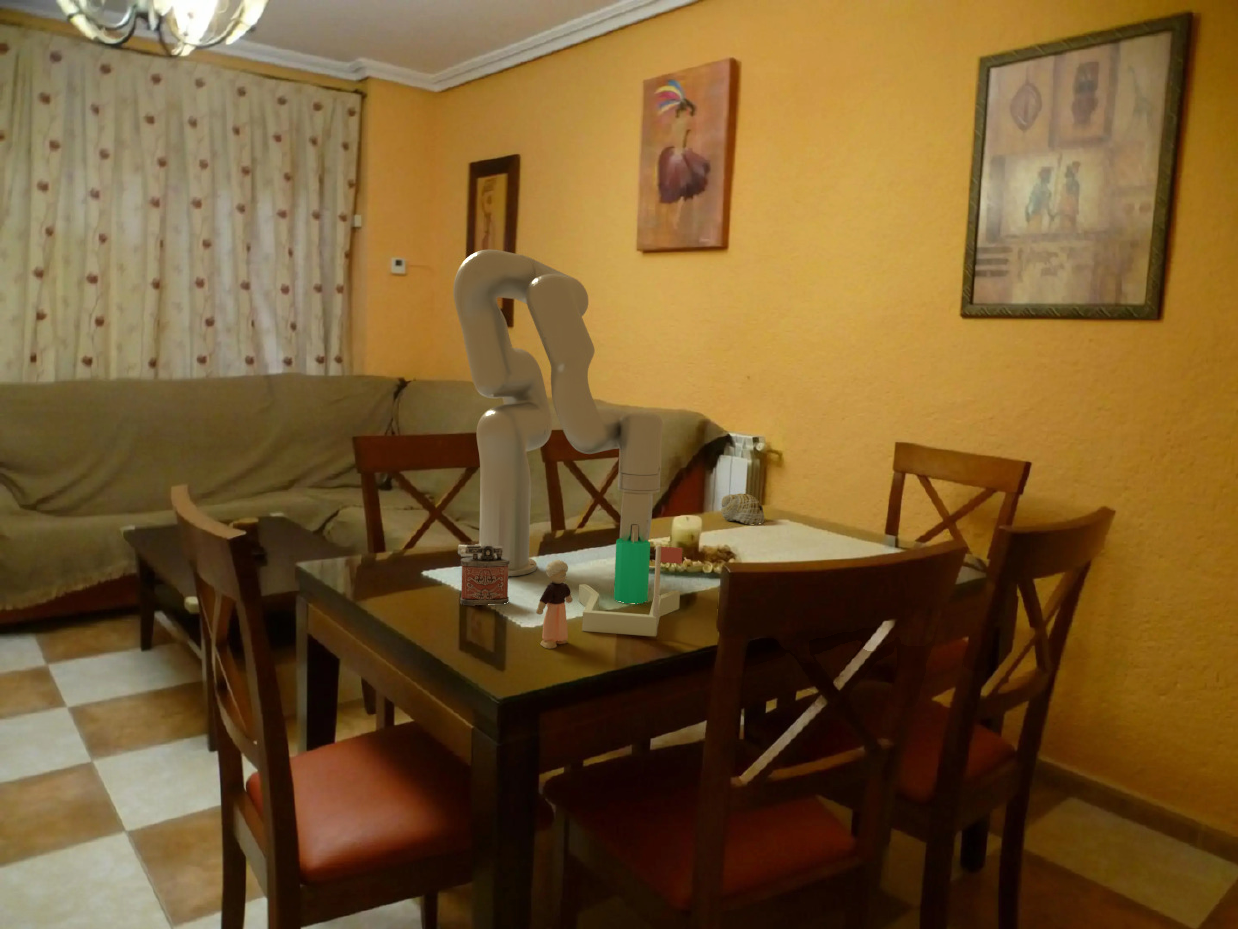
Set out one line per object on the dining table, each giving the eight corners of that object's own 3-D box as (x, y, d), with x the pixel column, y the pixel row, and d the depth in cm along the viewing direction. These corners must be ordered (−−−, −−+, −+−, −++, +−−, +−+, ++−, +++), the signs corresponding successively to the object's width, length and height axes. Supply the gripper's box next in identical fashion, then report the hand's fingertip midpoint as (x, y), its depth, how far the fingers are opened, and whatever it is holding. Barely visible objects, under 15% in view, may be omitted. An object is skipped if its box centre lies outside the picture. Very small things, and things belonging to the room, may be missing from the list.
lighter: (508, 599, 155) (509, 542, 154) (509, 605, 152) (510, 547, 150) (460, 599, 154) (461, 542, 152) (460, 605, 150) (461, 547, 149)
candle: (644, 605, 154) (647, 537, 153) (610, 602, 156) (613, 534, 154) (650, 596, 160) (653, 529, 159) (617, 592, 161) (620, 527, 160)
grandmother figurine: (554, 652, 130) (557, 567, 128) (531, 648, 132) (533, 563, 130) (578, 637, 137) (581, 555, 135) (556, 633, 139) (558, 552, 137)
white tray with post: (563, 629, 140) (566, 541, 138) (579, 600, 156) (582, 520, 154) (677, 638, 139) (682, 549, 137) (682, 608, 154) (686, 527, 152)
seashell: (773, 522, 226) (760, 487, 223) (741, 540, 224) (727, 506, 221) (755, 511, 236) (742, 478, 232) (723, 529, 234) (710, 496, 231)
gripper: (622, 474, 169) (618, 570, 172) (613, 488, 155) (609, 592, 157) (662, 477, 169) (657, 572, 171) (657, 490, 154) (652, 595, 156)
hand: (634, 581), depth 164 cm, fingers closed
